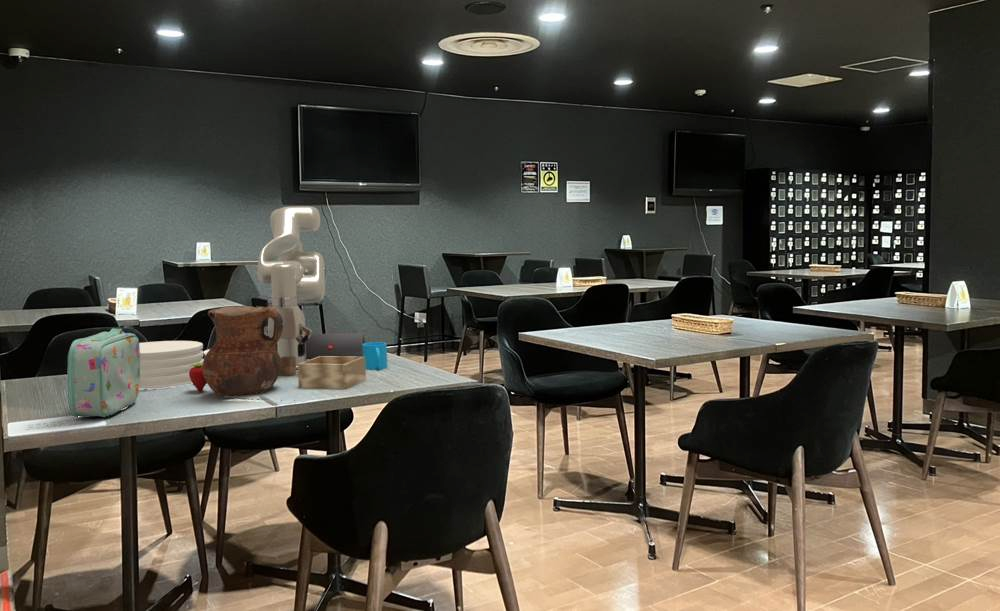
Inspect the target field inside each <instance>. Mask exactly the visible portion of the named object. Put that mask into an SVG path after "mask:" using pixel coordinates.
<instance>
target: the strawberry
mask: <svg viewBox="0 0 1000 611" xmlns="http://www.w3.org/2000/svg"><path fill="white" fill-rule="evenodd" d="M201 359H203V357H201ZM201 359H200V360H201ZM191 366H194V367H193V368H191V369H190V371H189V376H190V379H191V381H192V383H193V384H192V385H193V386H194V387H195V389H196V390H197V391H198V392H199V391H201V392H203V389H204V388H205V386H207V385H208V384H207V382H206V380H205V378H204V376H203V372H202V366H203V364H199V363H197V364H194V365H191Z"/></svg>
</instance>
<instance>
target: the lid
mask: <svg viewBox="0 0 1000 611" xmlns="http://www.w3.org/2000/svg"><path fill="white" fill-rule="evenodd" d="M280 359H281V370H280V373H279V376H278V377H292V376H294V375H296V374H298V371H297V369H296V357H288V356H284V357H281V358H280Z"/></svg>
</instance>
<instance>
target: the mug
mask: <svg viewBox="0 0 1000 611" xmlns="http://www.w3.org/2000/svg"><path fill="white" fill-rule="evenodd" d="M362 347H363V357H365V365H366V369H367V371H368V370H369V371H371V370H373V371H377V370H385V369H387V368H388V352H387V351H388V350H387V349H388V346H387V343H386V342H377V341H374V342H365V344H362Z"/></svg>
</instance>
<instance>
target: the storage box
mask: <svg viewBox="0 0 1000 611" xmlns="http://www.w3.org/2000/svg"><path fill="white" fill-rule="evenodd" d="M297 372H298V373H297V375H298V376H297V377H298V378H297V380H298V381H297V382H298V389H331V390H332V389H334V390H339V389H340V390H341V389H342V390H348V389H350V388H352V387H354V386H356V385H358V384H359V383H360V384H361V383H362V382H364V381H366V380H367V373H366V372H367V371H366V365H365V357H349V356H318V357H315V358H313V359H307V361H304V362H302V363H299V364H298V369H297Z"/></svg>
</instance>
